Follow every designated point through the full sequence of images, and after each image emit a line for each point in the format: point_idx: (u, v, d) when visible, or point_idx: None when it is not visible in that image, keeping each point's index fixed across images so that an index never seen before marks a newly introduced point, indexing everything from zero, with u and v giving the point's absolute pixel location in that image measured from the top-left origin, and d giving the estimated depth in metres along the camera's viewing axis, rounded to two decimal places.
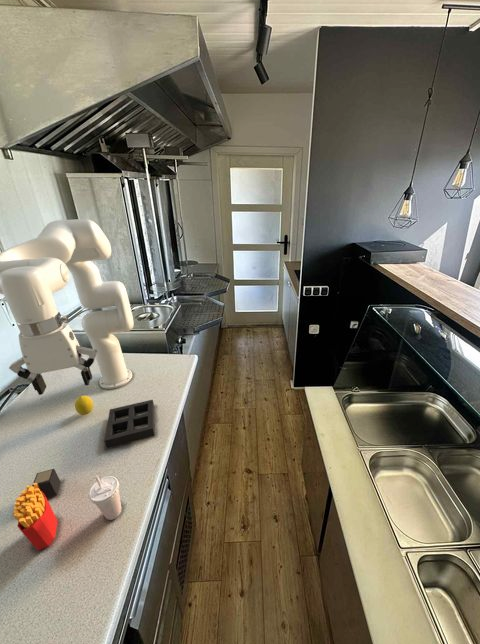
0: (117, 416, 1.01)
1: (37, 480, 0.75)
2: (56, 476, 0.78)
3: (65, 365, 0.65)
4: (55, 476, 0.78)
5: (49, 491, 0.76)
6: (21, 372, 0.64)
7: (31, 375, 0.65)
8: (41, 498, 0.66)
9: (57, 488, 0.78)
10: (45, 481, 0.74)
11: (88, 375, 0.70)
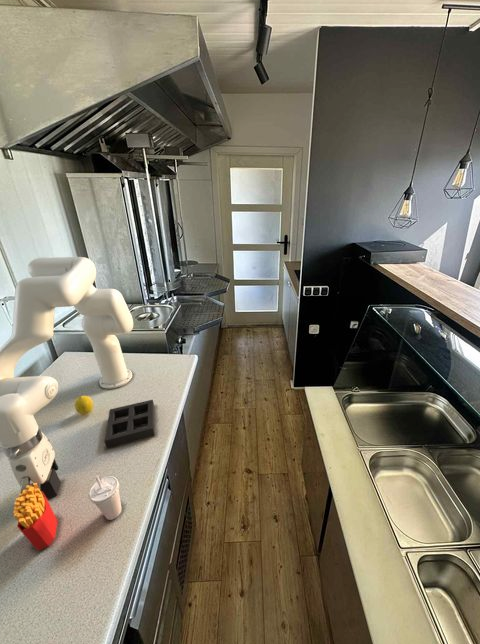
0: (117, 416, 1.01)
1: None
2: (56, 476, 0.78)
3: None
4: (55, 476, 0.78)
5: (49, 491, 0.76)
6: None
7: None
8: (41, 498, 0.66)
9: (57, 488, 0.78)
10: (45, 481, 0.74)
11: None
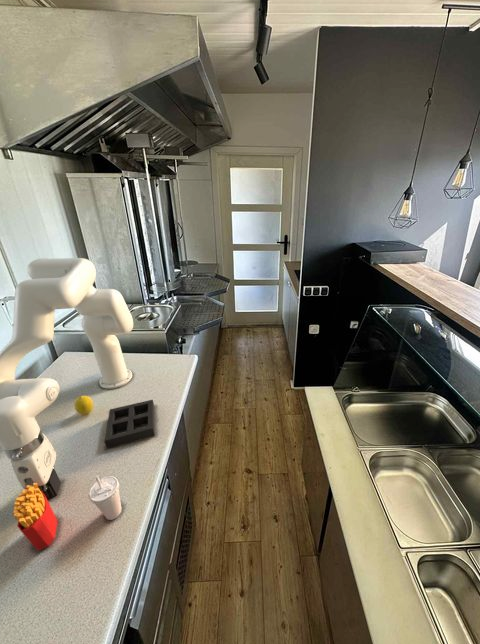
0: (117, 416, 1.01)
1: None
2: (56, 476, 0.78)
3: None
4: (55, 476, 0.78)
5: None
6: None
7: None
8: (41, 498, 0.66)
9: (57, 488, 0.78)
10: None
11: None
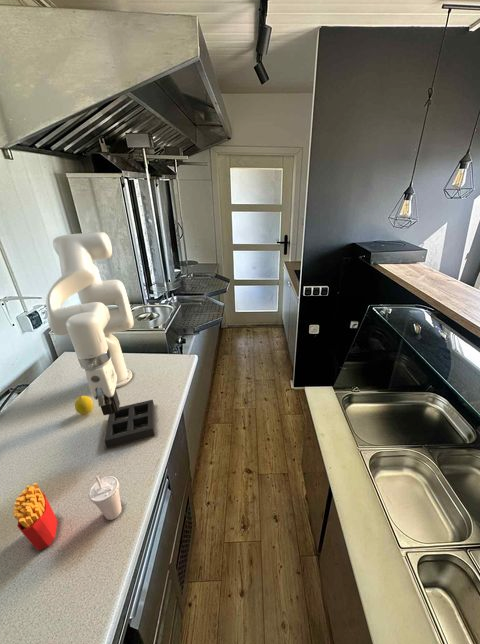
0: (117, 416, 1.01)
1: None
2: (116, 395, 0.86)
3: None
4: (116, 395, 0.86)
5: None
6: None
7: None
8: (41, 498, 0.66)
9: (118, 406, 0.86)
10: None
11: (105, 409, 0.82)
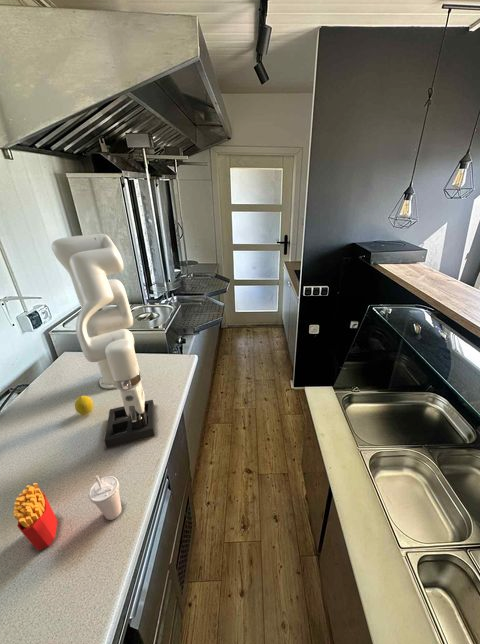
0: (117, 416, 1.01)
1: None
2: (144, 411, 0.95)
3: None
4: (144, 411, 0.95)
5: None
6: None
7: None
8: (41, 498, 0.66)
9: (146, 421, 0.95)
10: None
11: (135, 424, 0.91)
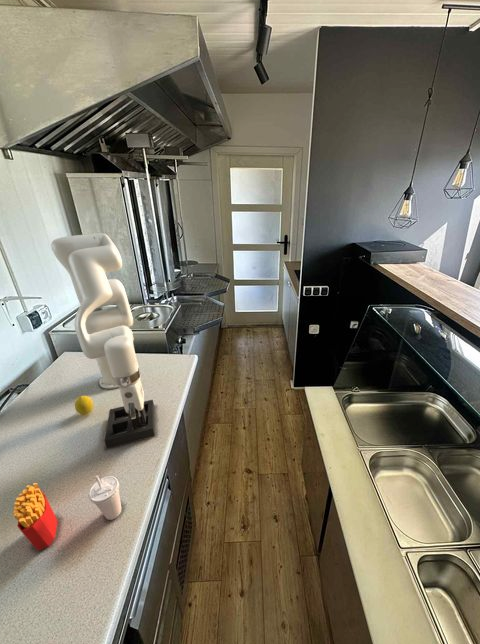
0: (117, 416, 1.01)
1: None
2: None
3: None
4: (143, 408, 0.95)
5: None
6: None
7: None
8: (41, 498, 0.66)
9: (145, 418, 0.95)
10: None
11: (134, 421, 0.91)
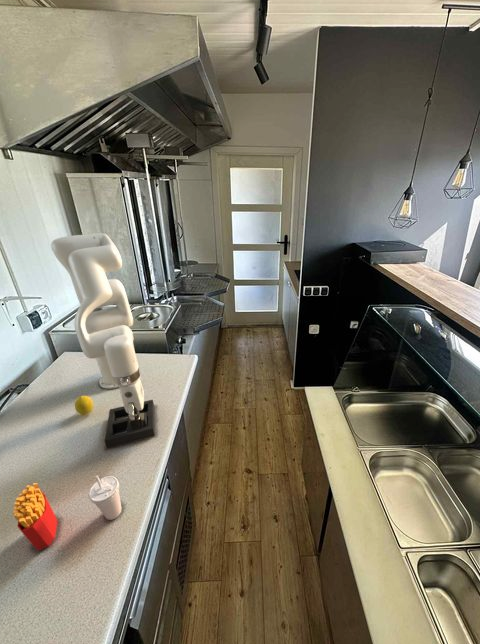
0: (117, 416, 1.01)
1: None
2: (146, 418, 0.97)
3: None
4: (146, 418, 0.96)
5: None
6: None
7: None
8: (41, 498, 0.66)
9: None
10: (142, 420, 0.93)
11: (133, 424, 0.88)
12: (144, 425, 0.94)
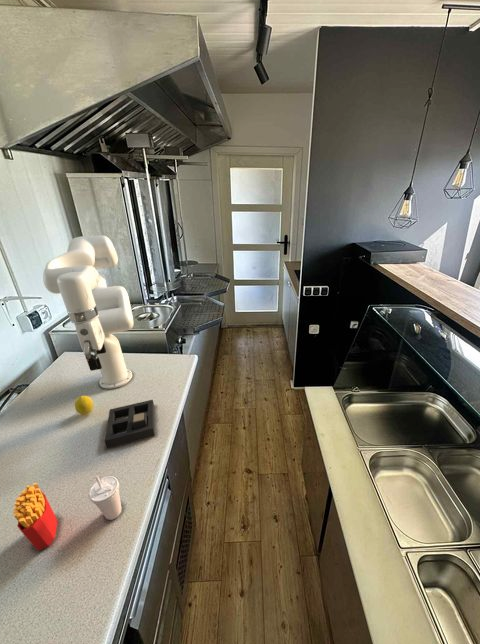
0: (117, 416, 1.01)
1: (135, 419, 0.93)
2: (146, 418, 0.97)
3: None
4: (146, 418, 0.96)
5: None
6: None
7: None
8: (41, 498, 0.66)
9: None
10: (142, 420, 0.93)
11: (91, 364, 0.87)
12: (144, 425, 0.94)
